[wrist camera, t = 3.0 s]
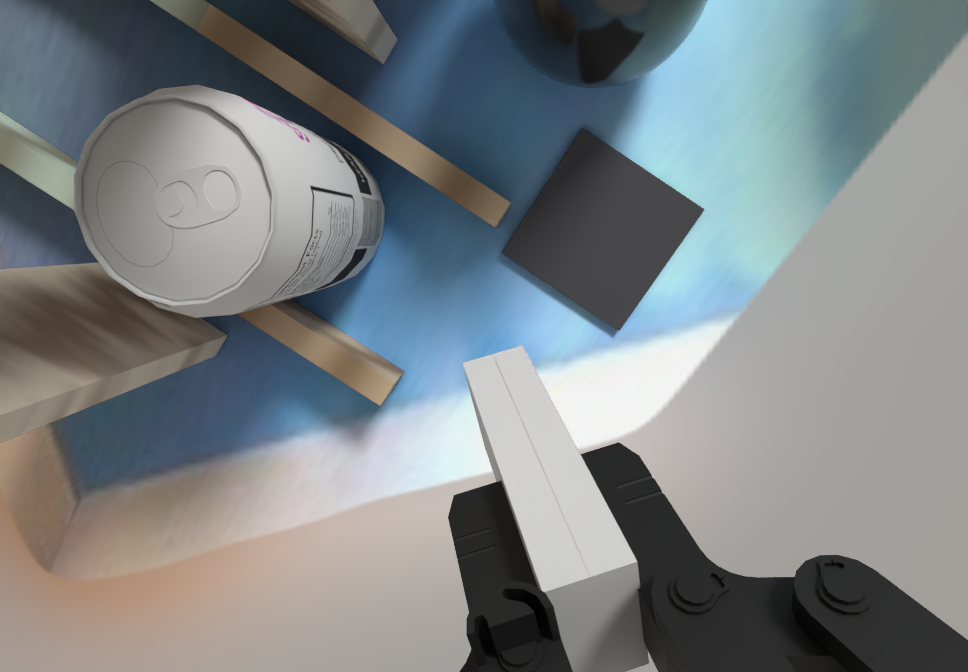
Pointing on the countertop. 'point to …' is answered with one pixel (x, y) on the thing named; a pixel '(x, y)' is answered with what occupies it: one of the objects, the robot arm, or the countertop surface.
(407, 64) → the countertop surface
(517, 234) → the mat
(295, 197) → the supplement can
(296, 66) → the channel rails
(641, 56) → the pump dispenser
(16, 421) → the tall beige pillar block
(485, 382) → the robot arm
